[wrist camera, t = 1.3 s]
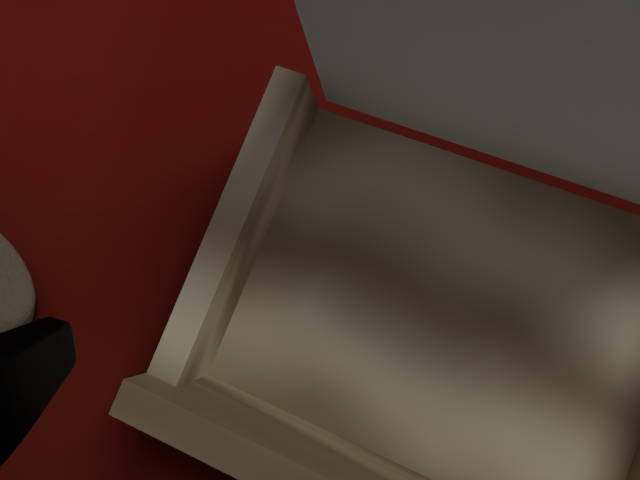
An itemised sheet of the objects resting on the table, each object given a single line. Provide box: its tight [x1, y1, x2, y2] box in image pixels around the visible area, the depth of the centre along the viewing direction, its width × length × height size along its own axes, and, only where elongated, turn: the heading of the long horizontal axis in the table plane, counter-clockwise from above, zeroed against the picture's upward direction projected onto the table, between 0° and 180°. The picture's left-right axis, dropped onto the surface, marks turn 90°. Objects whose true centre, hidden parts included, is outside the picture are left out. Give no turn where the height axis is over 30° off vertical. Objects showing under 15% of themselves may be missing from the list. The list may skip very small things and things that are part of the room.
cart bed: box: [109, 66, 640, 480], centre depth 18 cm, size 13×18×6 cm
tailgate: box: [294, 0, 640, 204], centre depth 13 cm, size 2×15×13 cm, turn 68°
